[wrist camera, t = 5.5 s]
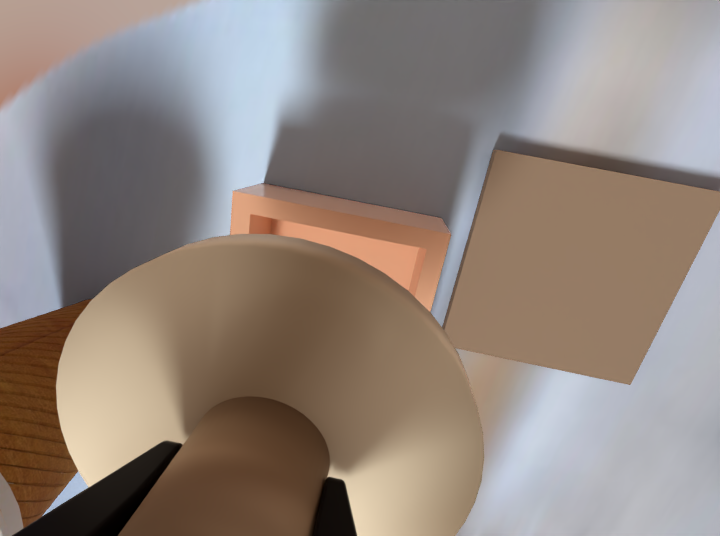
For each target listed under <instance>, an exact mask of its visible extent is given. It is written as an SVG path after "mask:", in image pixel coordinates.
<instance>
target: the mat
mask: <svg viewBox="0 0 720 536" xmlns="http://www.w3.org/2000/svg"><path fill="white" fill-rule="evenodd" d="M719 210H720V192H719V191H714V190H709V189H703V188H698V187H693V186H687V185H682V184H677V183H671V182H666V181H661V180H655V179H650V178H645V177H639V176H634V175H629V174H623V173H618V172H613V171H607V170H602V169H597V168H591V167H586V166H581V165H575V164H570V163H565V162H559V161H554V160H549V159H543V158H538V157H533V156H528V155H522V154H517V153H512V152H506V151H501V150H493V152H492V156H491V159H490V163H489V166H488V170H487V173H486V177H485V180H484V184H483V187H482V191H481V194H480V198H479V201H478V205H477V208H476V212H475V215H474V219H473V222H472V226H471V229H470V233H469V236H468V240H467V243H466V247H465V250H464V254H463V257H462V261H461V264H460V268H459V271H458V275H457V278H456V281H455V285H454V288H453V292H452V295H451V299H450V302H449V306H448V309H447V313H446V316H445V320H444V323H443V327H442V328H443V329H444V331H445V332H446V333H447V335H448V337H449V339H450V340H451V342H452V344H453V346H454V347H455V348H457V349H462V350H467V351H472V352H476V353H481V354H486V355H491V356H495V357H500V358H505V359H510V360H514V361H519V362H524V363H529V364H533V365H538V366H543V367H548V368H552V369H557V370H562V371H567V372H571V373H576V374H581V375H586V376H590V377H595V378H600V379H605V380H609V381H614V382H619V383H624V384H628V385H630V384H631V382H632V381H633V379H634V377H635V375H636V373H637V371H638V369H639V367H640V365H641V363H642V361H643V359H644V357H645V355H646V353H647V351H648V349H649V347H650V345H651V343H652V341H653V339H654V338H655V336H656V334H657V332H658V330H659V328H660V326H661V324H662V322H663V320H664V318H665V316H666V314H667V312H668V310H669V308H670V306H671V304H672V302H673V300H674V298H675V296H676V295H677V293H678V291H679V289H680V287H681V285H682V283H683V281H684V279H685V277H686V275H687V273H688V271H689V269H690V267H691V265H692V263H693V261H694V259H695V257H696V255H697V253H698V252H699V250H700V248H701V246H702V244H703V242H704V240H705V238H706V236H707V234H708V232H709V230H710V228H711V226H712V224H713V222H714V220H715V218H716V216H717V214H718V212H719Z"/></svg>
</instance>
